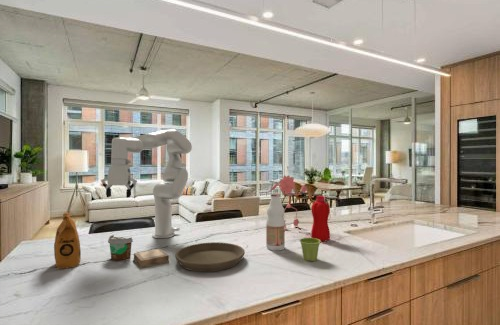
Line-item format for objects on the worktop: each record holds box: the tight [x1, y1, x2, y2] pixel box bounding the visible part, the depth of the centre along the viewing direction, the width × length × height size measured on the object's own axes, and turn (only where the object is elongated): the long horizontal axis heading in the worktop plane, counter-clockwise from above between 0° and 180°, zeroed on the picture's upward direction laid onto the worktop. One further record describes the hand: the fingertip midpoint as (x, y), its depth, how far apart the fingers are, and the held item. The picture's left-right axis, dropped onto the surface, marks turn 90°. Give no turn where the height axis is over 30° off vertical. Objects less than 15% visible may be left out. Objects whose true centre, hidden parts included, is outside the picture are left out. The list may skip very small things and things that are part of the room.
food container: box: [107, 234, 133, 262], centre depth 133 cm, size 12×6×10 cm, turn 68°
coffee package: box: [53, 212, 82, 270], centre depth 127 cm, size 10×12×22 cm
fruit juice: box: [265, 192, 286, 251], centre depth 150 cm, size 9×9×28 cm
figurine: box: [269, 175, 308, 231], centre depth 196 cm, size 15×26×35 cm, turn 113°
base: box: [133, 248, 170, 269], centre depth 131 cm, size 12×12×3 cm
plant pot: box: [299, 237, 321, 262], centre depth 133 cm, size 9×9×9 cm
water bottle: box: [310, 195, 331, 243], centre depth 165 cm, size 9×11×25 cm
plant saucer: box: [174, 242, 245, 273], centre depth 132 cm, size 31×31×5 cm
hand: (118, 197), depth 144 cm, fingers open, 9 cm apart
